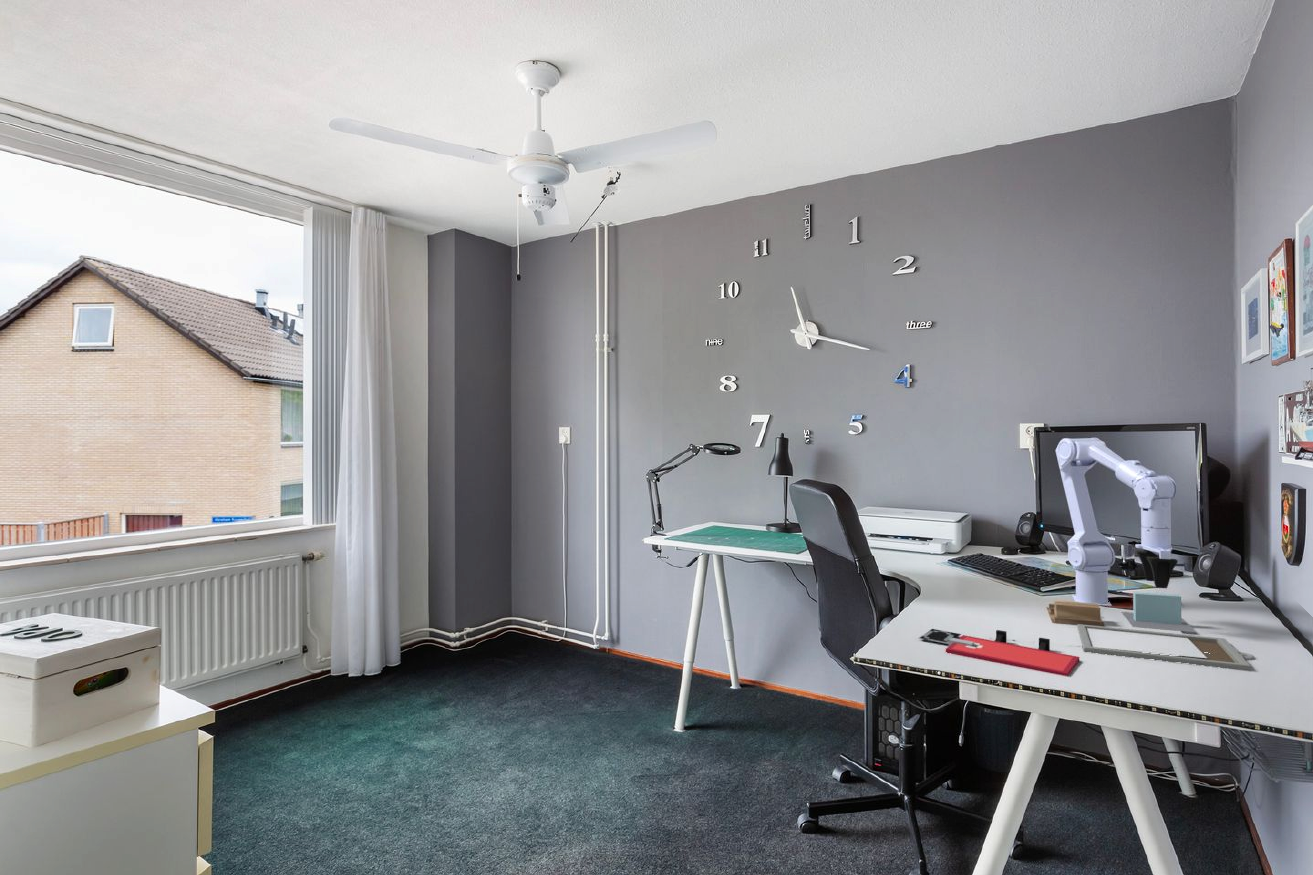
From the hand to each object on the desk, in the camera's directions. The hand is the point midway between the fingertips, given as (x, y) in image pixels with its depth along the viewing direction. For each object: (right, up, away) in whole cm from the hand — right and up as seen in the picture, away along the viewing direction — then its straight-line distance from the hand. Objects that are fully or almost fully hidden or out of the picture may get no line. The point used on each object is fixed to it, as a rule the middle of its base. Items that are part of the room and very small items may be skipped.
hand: (1156, 584), depth 163 cm
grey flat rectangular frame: (-11, -11, -18) cm, 24 cm away
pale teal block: (0, -9, 0) cm, 9 cm away
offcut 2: (-18, -9, +1) cm, 20 cm away
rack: (-16, -10, +5) cm, 20 cm away
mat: (0, -9, 0) cm, 9 cm away
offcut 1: (-17, -9, +3) cm, 20 cm away
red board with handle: (-47, -11, -17) cm, 51 cm away
